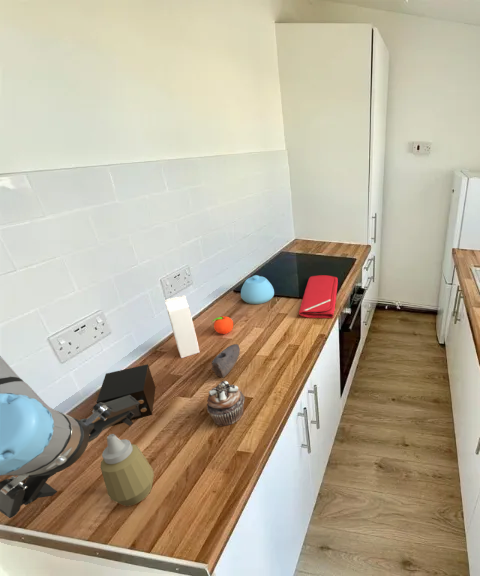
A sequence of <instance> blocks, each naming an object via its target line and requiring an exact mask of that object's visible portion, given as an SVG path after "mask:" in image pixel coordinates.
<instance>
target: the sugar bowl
mask: <svg viewBox="0 0 480 576" xmlns="http://www.w3.org/2000/svg"><path fill="white" fill-rule="evenodd" d="M274 296H275V289H274V286H273V285H272V283H271V282H270V281H269V280H268V279H267V278H266V277H264V276H262V275H261V276H260V275H257V274H255V275H252V276H251V277H247V279H245V281H244V283H243V285H242V287H241V289H240V299H241V300H242V301H244V302H245V303H247V304H250V305H261V304H265V303H268V302H269V301H271V300H272V299H273V297H274Z"/></svg>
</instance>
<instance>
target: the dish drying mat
mask: <svg viewBox="0 0 480 576" xmlns="http://www.w3.org/2000/svg"><path fill="white" fill-rule="evenodd" d="M338 281H339V278H338V277H337V276H333V275H325V274H324V275H322V274H320V275H312V276H309V278H308V280H307V283H306V286H305V290H304V293H303V296H302V300H301V303H300V307H299V310H298V315H299V316H300V317H303V318H307V319H309V318H310V319H333V318H334V314H335V309H336V304H337V303H336V302H337V294H338V285H339V282H338Z"/></svg>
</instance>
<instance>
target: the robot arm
mask: <svg viewBox="0 0 480 576" xmlns="http://www.w3.org/2000/svg"><path fill="white" fill-rule="evenodd" d="M139 405H140V402H138V401H137V400H136V399H134V398H133V397H132V396H131V395H128V396H124V397H121V398H118V399H115V400H112V401H109V402H106V403H102V402H99V403H95V404H94V405H93V407H92V409H93V410H92V411H91V412H92V414H91V415H89V416H88V417H87V418H81V419H78V418H75V417H74V416H70V415H69V414H67V413H63V412H61V411H59V410H56V409H55V408H52V407H50V406H49V405H48V404H47V403H46V402H44V400H43V399H42V398H41V396H39V395H38V394H37V393H36V391H35V390H34V389H32V387H31V386H30V385H29V384H28V383H26V381H24V380H23V379H22V378H21V377H20V376H19V375H18V374H17V373H16V371H14V369H13V368H12V367H11V366H10V365H9V364H8V362H6V360H5V359H4V358H3V356H1V355H0V476H11V477H10V478H5V479H3V480H1V481H0V513H2V514H3V515H4V516H6V517H7V518H8V519H12V518H13V517H16V515H18V512H20V510H21V507H22V506H28V505H29V504H31V503H34V502H36V501H37V500H38V499H39V498H41V499H42V498H48V497H53V496H55V494H57V493H58V491H57V490H56V489H55V488H54V487H53V486H51V485H50V484H48V483H47V482H48V480H49V479H50V478H52V477H53V476H54V475H56V474H57V473H59V472H62V471H64V470H66V469H68V468H69V467H70V466H72V465H73V464H74V463H76V462H77V461H78V460H79V459H80V458H81V457H82V456H83V454H84V453H85V452H86V449H87V448H88V445H89V443H90V442H92V441H94V440H95V439H97V438H98V437H99V436H100V435H101V433H102V432H103V431H106V430H107V429H109V428H110V427H113V426H115V425H114V424H115V423H117V422H119V421H122V422H124V423H123V424H125V425H127V426H129V427H130V426H132V424H134V422H133V420H131V421H130V419H131V418H132V417H133V416H134V415H135V414H134V413H132V412H131V411H130V410H132V409H134V408H136V407H138V406H139ZM112 425H113V426H112Z"/></svg>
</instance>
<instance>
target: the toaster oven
mask: <svg viewBox="0 0 480 576" xmlns="http://www.w3.org/2000/svg"><path fill="white" fill-rule="evenodd" d="M156 388H157V387H156V385H155V381H154V378H153V374H152V372H151V369H150V366H149V364H143V365H139V366H134V367H133V366H132V367H129V368H125V369H120V370H116V371H115V370H114V371H112V372H106V373H105V375H104V378H103V381H102V384H101V387H100V390H99V393H98V396H97V399H96V402H95V404H97V403H99V402H102V403H106V402H109V401H112V400H115V399H118V398H121V397H124V396H128V395H131V396H132V397H133V398H134V399H136V400H137V401H138V402H140V405H139V406H138V407H136V408H134V409H132V410H130V411H131V412H132V413H134V414H135V415H134V416H133V417H132V418H131V419H130V421H135V420H138V419H141V418H145V417H148V416H152V415H153V410H154V403H155V395H156ZM120 424H125V423H124V422H122V421H119V422H117V423H115V424H114V425H112V426H111V427H114V426H117V425H120Z"/></svg>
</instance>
